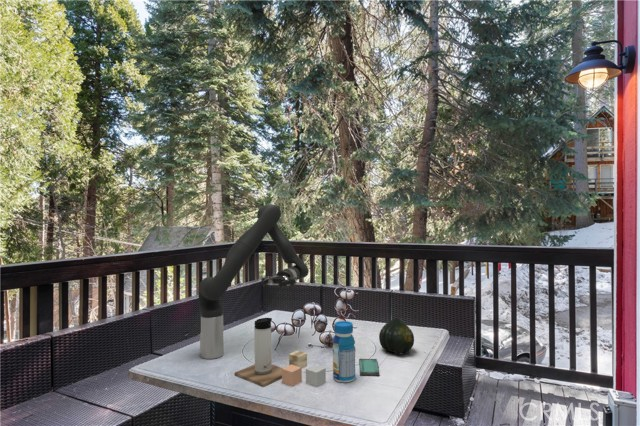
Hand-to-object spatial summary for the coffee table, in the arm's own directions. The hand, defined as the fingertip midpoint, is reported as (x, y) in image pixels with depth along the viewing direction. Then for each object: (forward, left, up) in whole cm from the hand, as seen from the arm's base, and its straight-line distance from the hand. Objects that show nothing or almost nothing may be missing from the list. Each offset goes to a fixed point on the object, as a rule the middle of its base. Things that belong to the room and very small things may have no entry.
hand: (272, 283), depth 154 cm
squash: (+33, +42, -32) cm, 62 cm away
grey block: (+25, -3, -32) cm, 41 cm away
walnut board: (+5, -10, -32) cm, 34 cm away
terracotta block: (+18, -8, -32) cm, 38 cm away
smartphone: (+33, +19, -33) cm, 50 cm away
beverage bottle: (+31, +6, -32) cm, 45 cm away
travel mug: (+5, -10, -31) cm, 33 cm away
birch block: (+10, +4, -32) cm, 34 cm away
